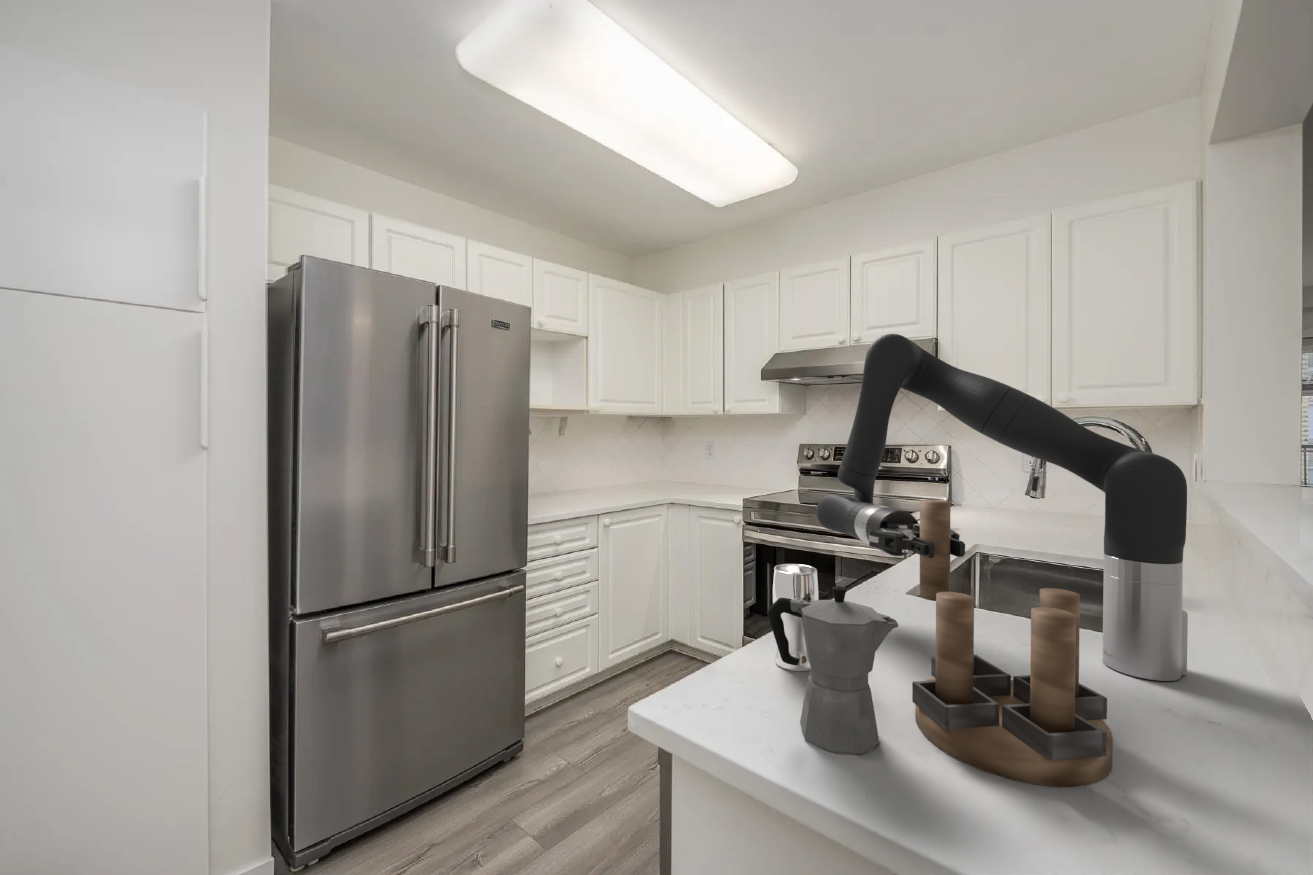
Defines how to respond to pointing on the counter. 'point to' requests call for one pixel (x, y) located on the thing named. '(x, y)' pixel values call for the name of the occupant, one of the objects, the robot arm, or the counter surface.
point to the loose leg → (935, 548)
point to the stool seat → (1016, 699)
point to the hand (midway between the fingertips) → (946, 550)
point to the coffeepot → (836, 669)
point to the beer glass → (799, 586)
